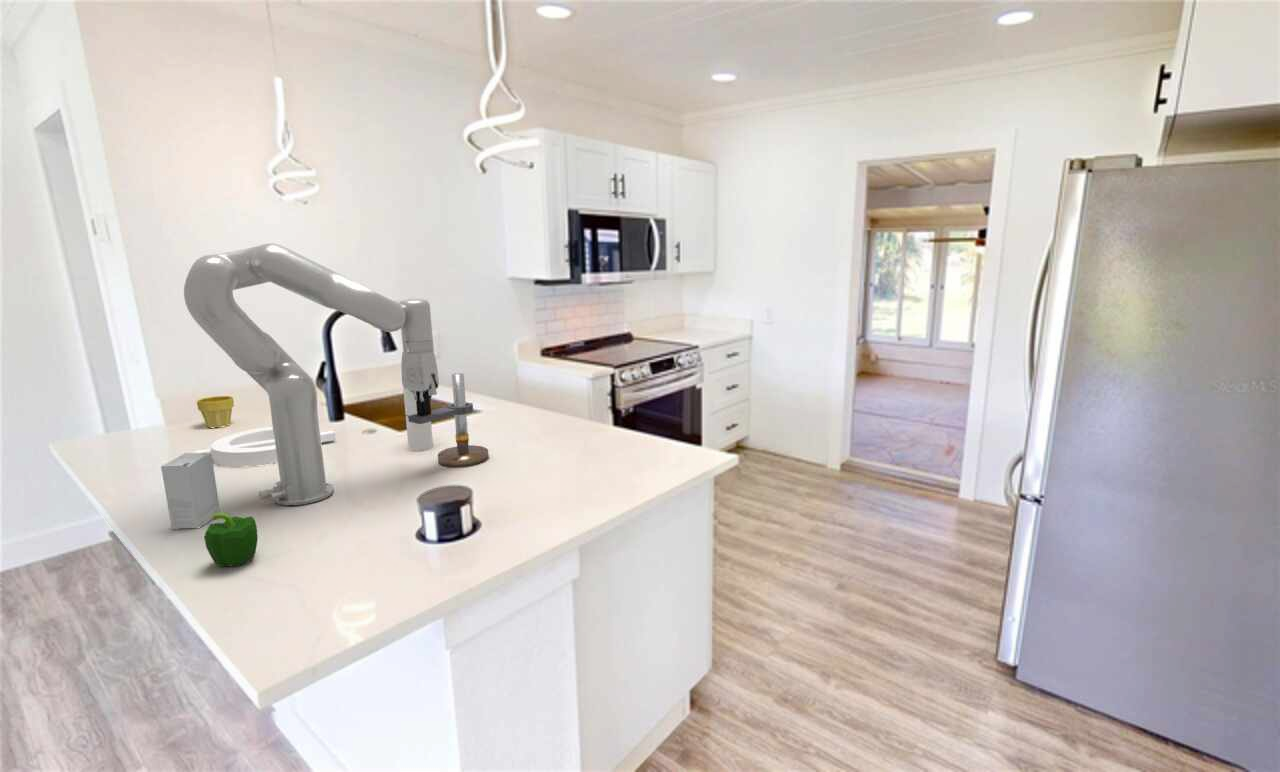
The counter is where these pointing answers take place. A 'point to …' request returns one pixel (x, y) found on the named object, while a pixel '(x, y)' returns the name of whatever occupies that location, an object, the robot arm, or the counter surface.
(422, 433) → the cylindrical container
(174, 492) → the skincare box
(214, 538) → the bell pepper
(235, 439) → the white circle with bar
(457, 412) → the collar
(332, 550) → the counter surface
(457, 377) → the pipe stand
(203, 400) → the plant pot
